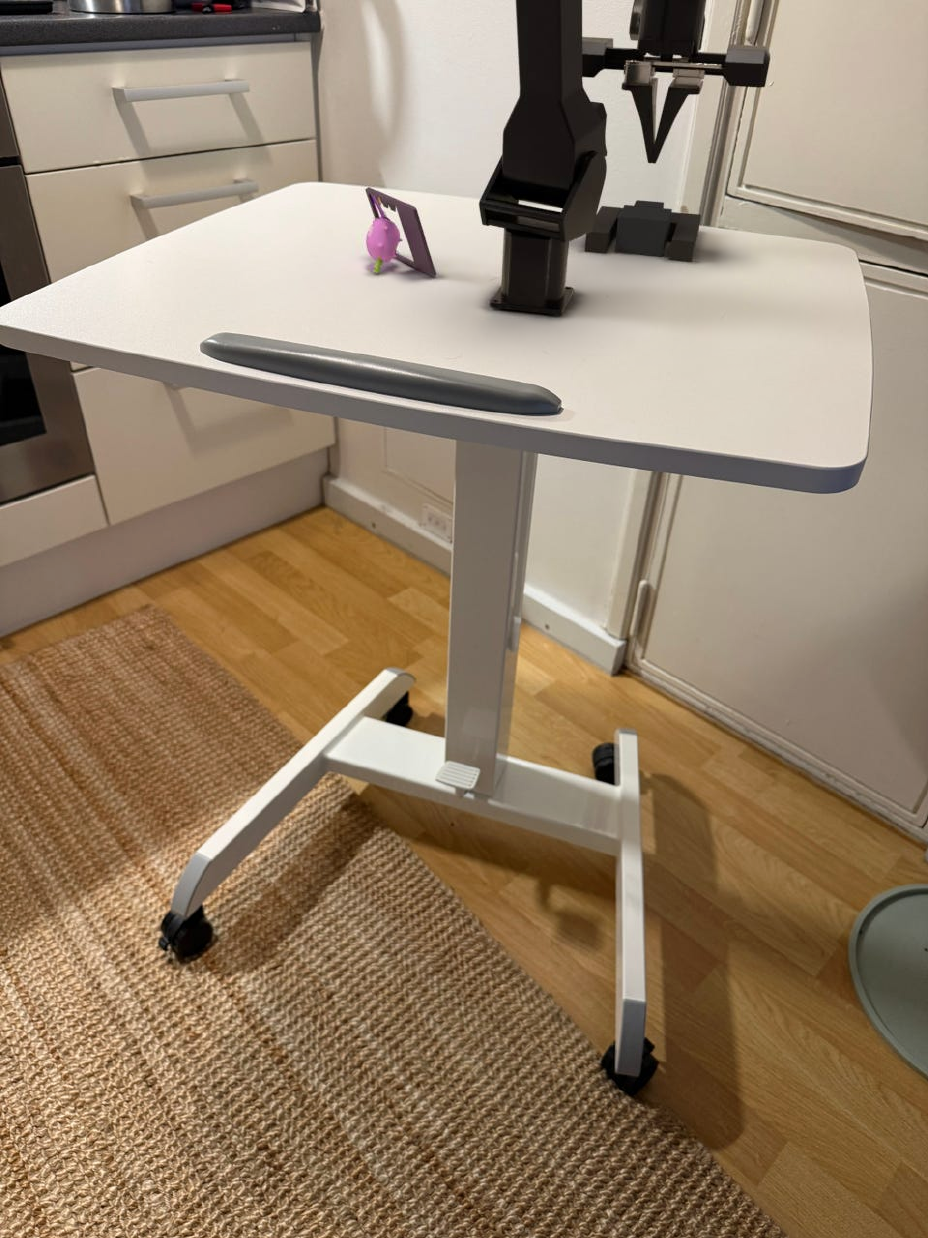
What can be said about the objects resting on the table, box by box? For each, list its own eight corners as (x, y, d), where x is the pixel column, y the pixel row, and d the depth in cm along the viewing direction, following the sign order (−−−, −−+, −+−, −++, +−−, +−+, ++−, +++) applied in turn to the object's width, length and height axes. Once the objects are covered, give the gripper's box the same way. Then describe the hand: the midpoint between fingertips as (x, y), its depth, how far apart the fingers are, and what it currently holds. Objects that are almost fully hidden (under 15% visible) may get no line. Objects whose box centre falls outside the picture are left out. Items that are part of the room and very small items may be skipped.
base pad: (691, 261, 91) (694, 241, 90) (584, 251, 93) (586, 230, 92) (697, 233, 100) (701, 214, 98) (599, 224, 102) (601, 205, 101)
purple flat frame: (422, 203, 81) (374, 182, 87) (375, 230, 80) (329, 208, 86) (443, 271, 86) (395, 248, 92) (399, 298, 85) (354, 272, 90)
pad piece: (662, 256, 92) (668, 220, 90) (614, 251, 93) (618, 216, 91) (668, 237, 98) (673, 202, 96) (623, 233, 99) (627, 198, 97)
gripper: (785, -30, 85) (749, 154, 94) (588, -37, 88) (573, 141, 98) (786, -25, 76) (747, 176, 86) (569, -33, 80) (554, 161, 89)
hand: (652, 162), depth 90 cm, fingers closed
